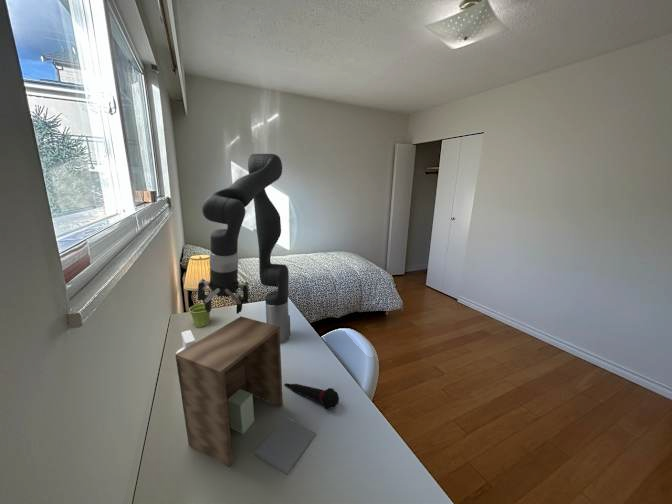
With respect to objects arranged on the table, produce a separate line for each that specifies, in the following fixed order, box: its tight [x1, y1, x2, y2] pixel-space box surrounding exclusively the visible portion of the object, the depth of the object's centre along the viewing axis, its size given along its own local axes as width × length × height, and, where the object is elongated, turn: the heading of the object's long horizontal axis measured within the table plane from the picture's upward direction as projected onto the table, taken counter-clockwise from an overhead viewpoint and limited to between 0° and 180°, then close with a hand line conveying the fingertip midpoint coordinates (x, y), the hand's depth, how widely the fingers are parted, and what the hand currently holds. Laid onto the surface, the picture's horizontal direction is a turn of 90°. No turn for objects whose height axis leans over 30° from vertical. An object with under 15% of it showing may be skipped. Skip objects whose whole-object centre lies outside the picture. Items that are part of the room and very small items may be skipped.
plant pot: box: [188, 302, 211, 328], centre depth 127 cm, size 9×9×9 cm
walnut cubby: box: [175, 316, 284, 468], centre depth 72 cm, size 14×21×26 cm, turn 156°
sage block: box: [227, 389, 255, 435], centre depth 74 cm, size 4×4×9 cm
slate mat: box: [254, 417, 317, 476], centre depth 69 cm, size 12×10×1 cm
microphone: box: [284, 382, 340, 410], centre depth 85 cm, size 6×6×20 cm
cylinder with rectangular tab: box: [175, 329, 196, 354], centre depth 98 cm, size 9×9×12 cm
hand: (223, 311), depth 85 cm, fingers open, 8 cm apart
